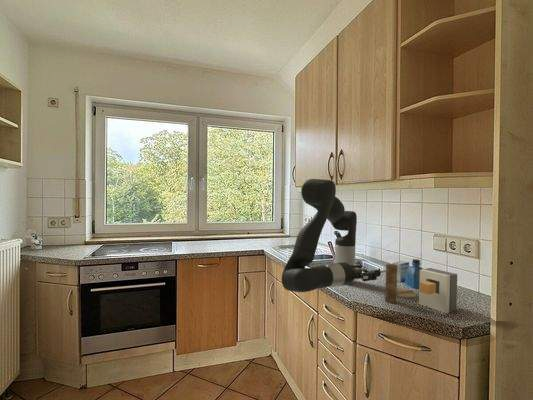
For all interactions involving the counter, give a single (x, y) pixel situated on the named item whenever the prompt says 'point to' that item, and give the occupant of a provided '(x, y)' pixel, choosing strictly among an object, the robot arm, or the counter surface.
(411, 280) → the perfume bottle
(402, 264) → the medicine box
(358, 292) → the counter surface
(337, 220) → the robot arm
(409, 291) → the stand
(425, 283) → the button
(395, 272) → the brown wooden cylinder
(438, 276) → the box
